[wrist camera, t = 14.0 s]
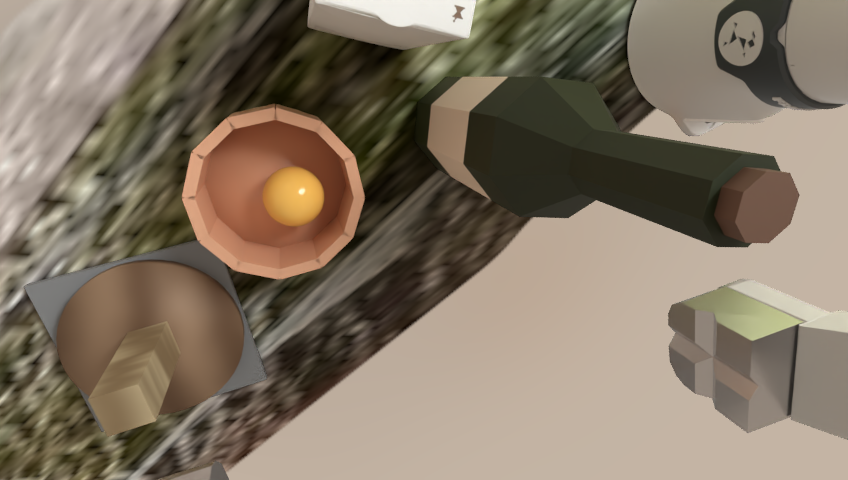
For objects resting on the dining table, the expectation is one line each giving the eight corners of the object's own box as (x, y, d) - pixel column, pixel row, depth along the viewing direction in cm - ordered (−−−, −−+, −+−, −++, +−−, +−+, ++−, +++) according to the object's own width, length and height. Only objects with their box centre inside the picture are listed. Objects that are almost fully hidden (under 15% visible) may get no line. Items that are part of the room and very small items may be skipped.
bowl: (331, 90, 40) (339, 93, 34) (365, 229, 44) (378, 251, 38) (174, 124, 37) (156, 133, 32) (227, 267, 42) (219, 296, 36)
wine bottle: (395, 147, 42) (606, 275, 15) (440, 55, 41) (763, 13, 14) (474, 187, 46) (771, 356, 18) (519, 104, 44) (911, 148, 17)
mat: (215, 235, 41) (214, 237, 40) (267, 375, 46) (266, 379, 45) (27, 283, 38) (23, 286, 38) (104, 427, 43) (101, 432, 42)
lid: (213, 239, 40) (194, 287, 31) (264, 377, 45) (261, 454, 36) (29, 287, 38) (-52, 355, 28) (104, 428, 42) (56, 525, 33)
